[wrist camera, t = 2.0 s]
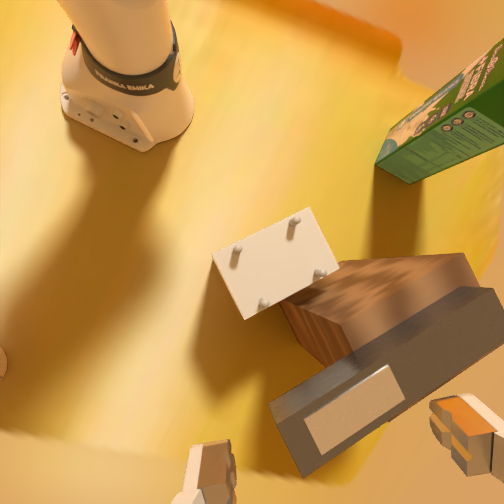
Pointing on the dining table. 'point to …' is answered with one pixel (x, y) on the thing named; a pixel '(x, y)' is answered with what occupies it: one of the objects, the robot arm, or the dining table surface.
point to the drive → (387, 375)
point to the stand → (371, 301)
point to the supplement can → (2, 363)
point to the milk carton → (450, 123)
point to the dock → (275, 262)
